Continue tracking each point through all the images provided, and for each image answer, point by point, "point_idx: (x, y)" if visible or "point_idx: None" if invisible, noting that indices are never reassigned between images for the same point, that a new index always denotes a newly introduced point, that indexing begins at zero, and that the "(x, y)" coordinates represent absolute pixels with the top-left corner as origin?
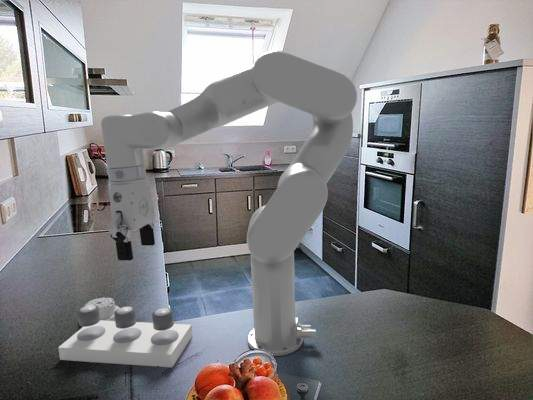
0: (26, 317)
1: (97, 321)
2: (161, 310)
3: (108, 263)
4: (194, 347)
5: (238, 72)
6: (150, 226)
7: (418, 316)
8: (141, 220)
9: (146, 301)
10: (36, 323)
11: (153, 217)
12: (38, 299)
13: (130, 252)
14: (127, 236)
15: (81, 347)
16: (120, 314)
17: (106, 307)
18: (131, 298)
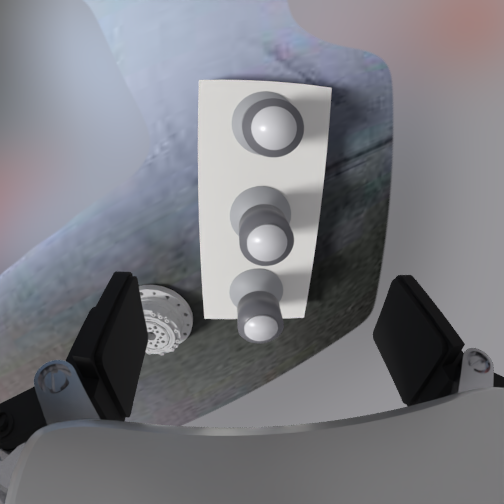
0: (187, 403)
1: (262, 292)
2: (267, 133)
3: (13, 376)
4: (248, 63)
5: None
6: (83, 384)
7: None
8: (446, 474)
9: (77, 260)
10: (199, 386)
11: (69, 453)
12: (138, 412)
13: (428, 302)
14: (482, 377)
15: (305, 281)
16: (286, 243)
17: (161, 314)
18: (78, 295)
